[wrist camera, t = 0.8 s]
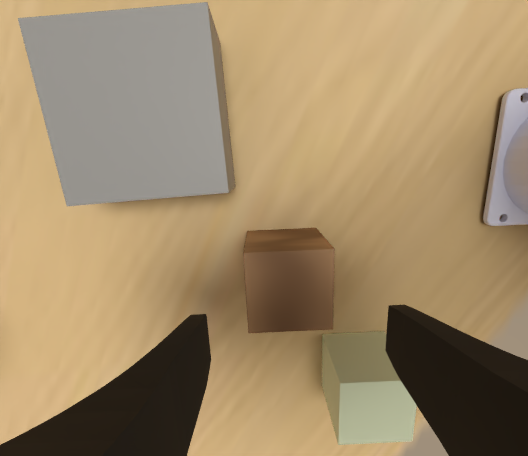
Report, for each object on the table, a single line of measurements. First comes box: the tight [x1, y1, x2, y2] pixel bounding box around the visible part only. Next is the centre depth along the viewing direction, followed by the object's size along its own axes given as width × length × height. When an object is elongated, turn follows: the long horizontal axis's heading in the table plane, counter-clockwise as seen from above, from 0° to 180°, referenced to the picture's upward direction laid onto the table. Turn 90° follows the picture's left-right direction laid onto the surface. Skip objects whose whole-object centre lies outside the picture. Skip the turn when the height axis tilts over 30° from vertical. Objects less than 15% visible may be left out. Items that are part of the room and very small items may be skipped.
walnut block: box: [243, 228, 335, 333], centre depth 16 cm, size 4×4×4 cm
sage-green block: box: [322, 331, 417, 445], centre depth 17 cm, size 4×4×4 cm
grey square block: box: [18, 2, 235, 206], centre depth 14 cm, size 8×8×4 cm
